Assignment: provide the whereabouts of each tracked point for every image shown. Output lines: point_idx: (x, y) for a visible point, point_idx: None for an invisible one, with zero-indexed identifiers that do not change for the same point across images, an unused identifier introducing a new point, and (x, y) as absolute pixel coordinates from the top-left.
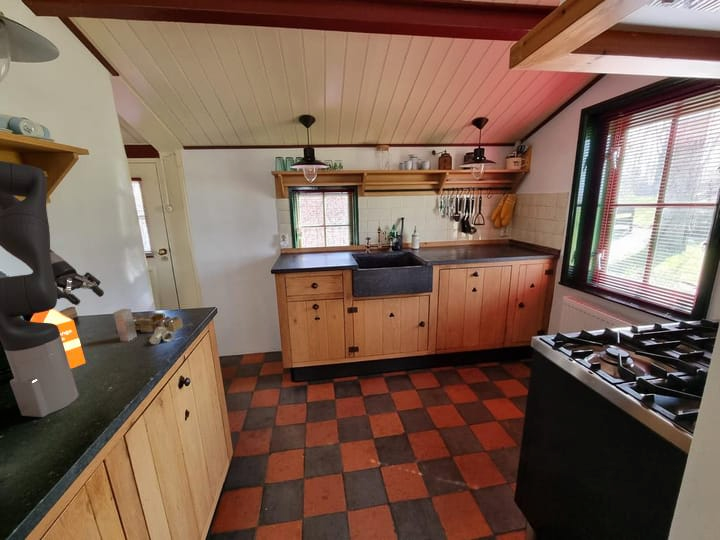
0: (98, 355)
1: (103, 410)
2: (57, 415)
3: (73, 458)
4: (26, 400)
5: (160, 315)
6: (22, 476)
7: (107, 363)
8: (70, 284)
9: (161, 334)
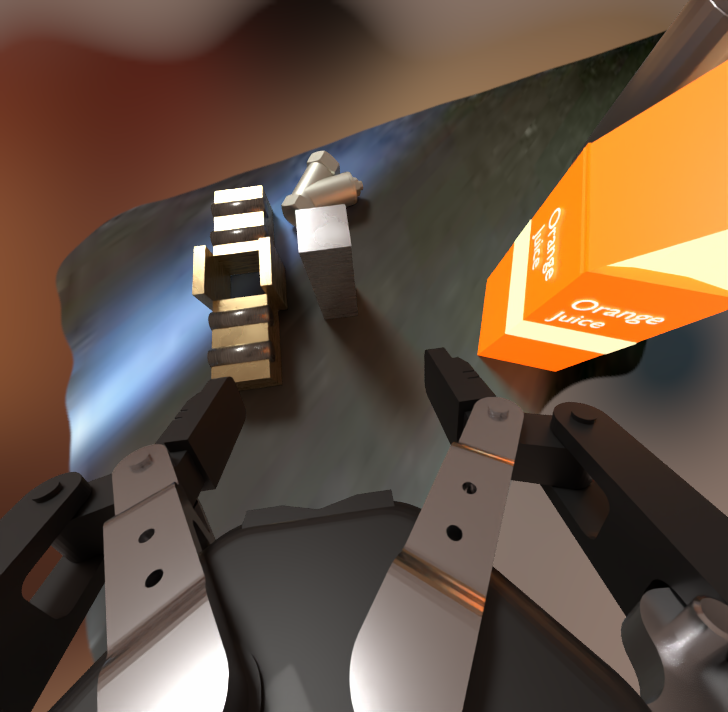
0: (447, 287)
1: (573, 88)
2: None
3: (643, 43)
4: None
5: (208, 258)
6: None
7: (467, 223)
8: (438, 505)
9: (328, 174)
